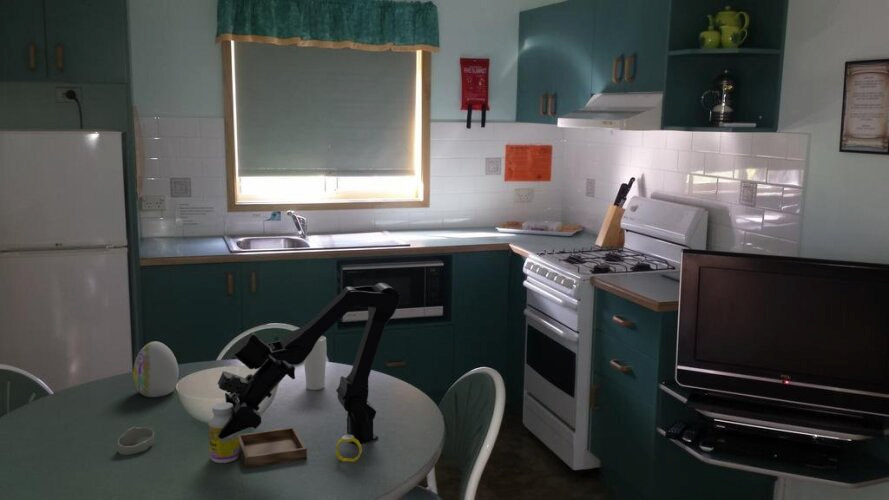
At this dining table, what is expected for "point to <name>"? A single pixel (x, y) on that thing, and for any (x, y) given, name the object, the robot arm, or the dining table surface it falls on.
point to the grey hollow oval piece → (135, 440)
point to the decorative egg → (155, 370)
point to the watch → (348, 439)
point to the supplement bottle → (227, 446)
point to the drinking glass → (316, 366)
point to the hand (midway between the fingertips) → (217, 432)
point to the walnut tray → (271, 447)
